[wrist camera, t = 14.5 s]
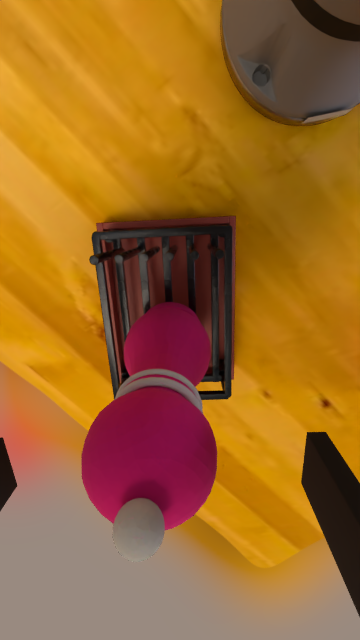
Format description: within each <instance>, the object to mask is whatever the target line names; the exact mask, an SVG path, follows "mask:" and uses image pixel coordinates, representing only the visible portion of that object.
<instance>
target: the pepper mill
mask: <svg viewBox="0 0 360 640" xmlns="http://www.w3.org/2000/svg"><path fill="white" fill-rule="evenodd" d="M210 355H211V347H210V340H209V337H208V334H207V332H206V330H205V328H204V327H203V325H202V324H201V322H200V320H199V318H198V317H197V315H196V314H195V313H194V312H193V311H192V310H191V309H190V308H188V307H187V306H185V305H183V304H180V303H175V302H164V303H160V304H158V305H156V306H154V307H152V308H151V309H149V310H148V311H147V312H146V313H145V314H144V315H143V316H141V317H140V318H139V319H138V320H137V321H136V322H135V323H134V324H133V325H132V327H131V328H130V330H129V332H128V335H127V338H126V341H125V345H124V361H125V366H126V369H127V371H128V374H129V375H130V377H129V378H128V379H127V380H126V381H125V382H124V383H123V384H122V385H121V386H120V388H119V390H118V392H117V394H116V397H115V399H114V401H112V402H111V403H110V404H109V405H107V406H106V407H105V408H104V409H103V410H102V411H101V412H100V413H99V414H98V416H97V417H96V419H95V420H94V422H93V423H92V425H91V427H90V429H89V432H88V435H87V437H86V439H85V443H84V448H83V452H82V479H83V484H84V486H85V489H86V491H87V494H88V496H89V498H90V500H91V501H92V503H93V504H94V506H95V507H96V508H97V509H98V511H99V512H100V513H101V514H102V515H103V516H104V517H105V518H107V519H108V520H109V521H111V522H112V523H113V540H114V544H115V547H116V549H117V550H118V552H119V554H120V555H121V556H123V557H124V558H126V559H127V560H128V561H133V562H140V561H144V560H146V559H148V558H149V557H151V556H152V555H154V553H155V552H156V551H157V550H158V548H159V547H160V545H161V543H162V540H163V536H164V531H165V530H168V529H172V528H174V527H176V526H178V525H180V524H182V523H183V522H185V521H186V520H188V519H189V518H191V517H192V516H194V514H195V513H196V512H197V511H198V510H199V509H200V507H201V506H202V505H203V504H204V503H205V501H206V499H207V497H208V496H209V494H210V492H211V489H212V486H213V483H214V480H215V475H216V470H217V448H216V442H215V438H214V434H213V431H212V429H211V427H210V424H209V422H208V421H207V419H206V418H205V417H204V415H203V412H202V401H201V398H200V395H199V393H198V391H197V389H196V388H195V386H196V385H197V384H199V382H200V381H201V380H202V379H203V377H204V375H205V373H206V371H207V369H208V366H209V362H210Z"/></svg>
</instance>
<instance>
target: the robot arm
mask: <svg viewBox="0 0 360 640" xmlns="http://www.w3.org/2000/svg"><path fill="white" fill-rule="evenodd" d="M220 29H221V42H222V49H223V54H224V58H225V62H226V65H227V68H228V71H229V73H230V76H231V78H232V80H233V82H234V84H235V86H236V87H237V89H238V91H239V92H240V94H241V95H242V96H243V97H244V99H245V100H246V101H247V102H248V103H249V104H250V105H251V106H252V107H253V108H254V109H255V110H257V111H258V112H259V113H261V114H262V115H264V116H265V117H267V118H269V119H271V120H273V121H276V122H279V123H282V124H286V125H293V126H309V125H316V124H320V123H324V122H327V121H330V120H332V119H334V118H337V117H339V116H343V115H345V114H347V113H348V112H349V111H351V110H352V108H353V107H355V106H356V105H358V104H359V103H360V0H222V6H221V19H220ZM353 109H354V108H353ZM301 483H302V486H303V488H304V490H305V492H306V495H307V497H308V499H309V502H310V504H311V506H312V509H313V511H314V513H315V515H316V518H317V520H318V522H319V525H320V527H321V529H322V531H323V534H324V536H325V538H326V541H327V543H328V545H329V548H330V550H331V552H332V554H333V557H334V559H335V561H336V564H337V566H338V568H339V570H340V573H341V575H342V577H343V580H344V582H345V584H346V586H347V589H348V591H349V593H350V596H351V598H352V600H353V603H354V605H355V607H356V609H357V612H358V614H359V616H360V483H359V482H358V480H357V478H356V477H355V475H354V474H353V472H352V471H351V469H350V468H349V466H348V465H347V463H346V462H345V460H344V459H343V457H342V456H341V454H340V453H339V451H338V450H337V448H336V447H335V445H334V444H333V442H332V441H331V439H330V438H329V436H328V435H327V433H326V432H307V437H306V446H305V455H304V463H303V472H302V481H301ZM16 487H17V483H16V480H15V476H14V473H13V470H12V466H11V463H10V460H9V456H8V453H7V450H6V446H5V443H4V440H3V438H0V511H1V509H2V508H3V506H4V505H5V503H6V502H7V500H8V499H9V497H10V496H11V494H12V493H13V491H14V490H15V488H16Z"/></svg>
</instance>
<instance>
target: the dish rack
mask: <svg viewBox="0 0 360 640" xmlns="http://www.w3.org/2000/svg"><path fill="white" fill-rule="evenodd" d="M96 225H97V231H96V232H94V233H93V234H92V243H93V250H94V255H93V256H91V257H90V259H89V260H90V263H91V264H93V265H96V272H97V279H98V286H99V293H100V301H101V308H102V315H103V322H104V329H105V336H106V344H107V351H108V358H109V365H110V372H111V379H112V386H113V394H114V399H115V397H116V394H117V392H118V390H119V388H120V386H121V385H122V384H123V383H124V382H125V381H126V380H127V379H128V378H129V377H130V375H129V374H128V371H127V369H126V366H125V361H124V345H125V341H126V338H127V335H128V332H129V330H130V328H131V327H132V325H133V324H134V323H135V322H136V321H137V320H138V319H139V318H140V317H141V316H143V315H144V314H145V313H146V312H147V311H148V310H149V309H151V308H152V307H154V306H156V305H158V304H160V303H164V302H175V303H180V304H183V305H185V306H187V307H188V308H190V309H191V310H192V311H193V312H194V313H195V314H196V315H197V317H198V318H199V320H200V322H201V324H202V325H203V327H204V328H205V330H206V332H207V334H208V337H209V340H210V347H211V355H210V362H209V366H208V369H207V371H206V373H205V375H204V377H203V379H202V380H201V381H200V382H219V381H221V384H222V389H223V391H198V393H199V395H200V398H201V400H213V399H228V397H230V396H231V379H234V311H235V229H236V216H225V217H206V218H187V219H167V220H148V221H129V222H110V223H96Z"/></svg>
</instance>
